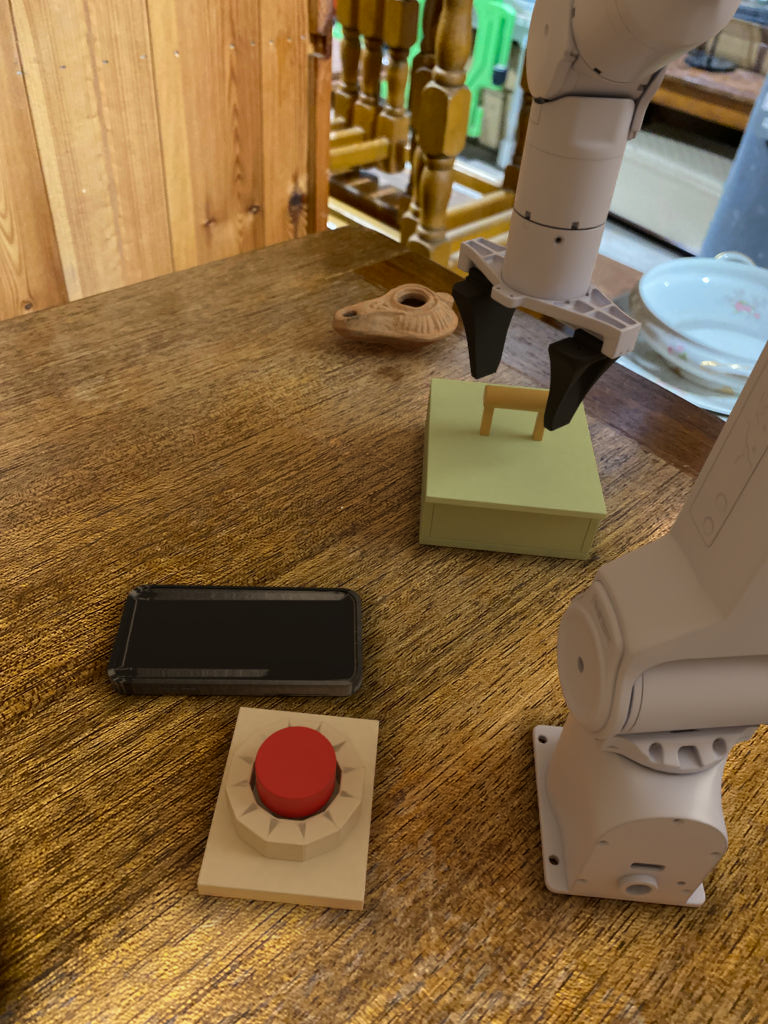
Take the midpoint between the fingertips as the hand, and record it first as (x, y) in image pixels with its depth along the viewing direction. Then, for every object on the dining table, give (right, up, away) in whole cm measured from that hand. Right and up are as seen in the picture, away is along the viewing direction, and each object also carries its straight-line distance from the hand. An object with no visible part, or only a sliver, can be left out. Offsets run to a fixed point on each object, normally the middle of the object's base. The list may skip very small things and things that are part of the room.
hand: (518, 398), depth 57 cm
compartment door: (0, -3, +2) cm, 4 cm away
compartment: (-1, -7, +6) cm, 9 cm away
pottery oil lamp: (-9, +9, +22) cm, 26 cm away
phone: (-19, -17, -8) cm, 26 cm away
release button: (-14, -22, -17) cm, 31 cm away
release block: (-14, -24, -15) cm, 32 cm away
